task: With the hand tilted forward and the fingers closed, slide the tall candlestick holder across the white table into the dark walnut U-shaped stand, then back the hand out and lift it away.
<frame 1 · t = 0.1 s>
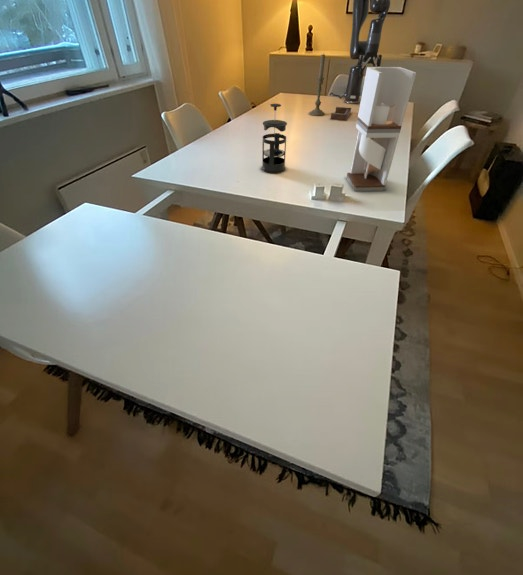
hand: (366, 75, 196), 17 cm above the table, tool pointing down, fingers open, 8 cm apart
candlestick holder: (316, 114, 193), on the table
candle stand: (334, 115, 190), on the table
display case: (364, 184, 117), on the table
french press: (273, 168, 128), on the table
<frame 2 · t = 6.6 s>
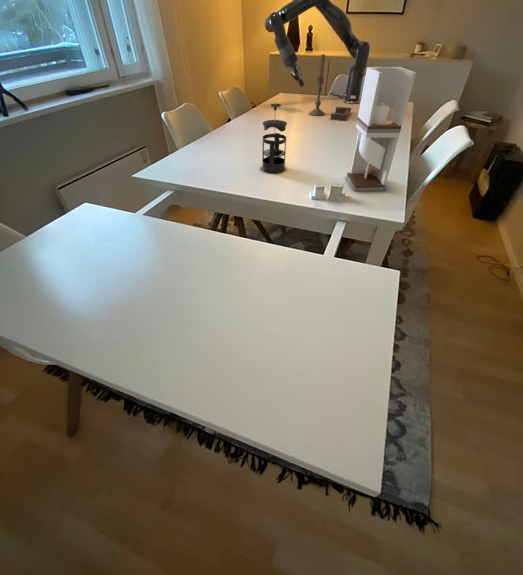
hand: (302, 86, 186), 14 cm above the table, tool tilted 35°, fingers closed
nothing on the table moved.
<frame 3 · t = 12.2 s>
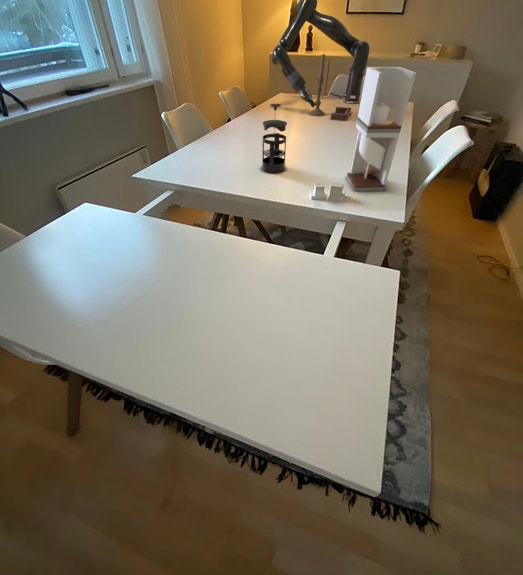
hand: (314, 106, 191), 4 cm above the table, tool tilted 45°, fingers closed
candlestick holder: (316, 114, 193), on the table, touching gripper
everything else where it was.
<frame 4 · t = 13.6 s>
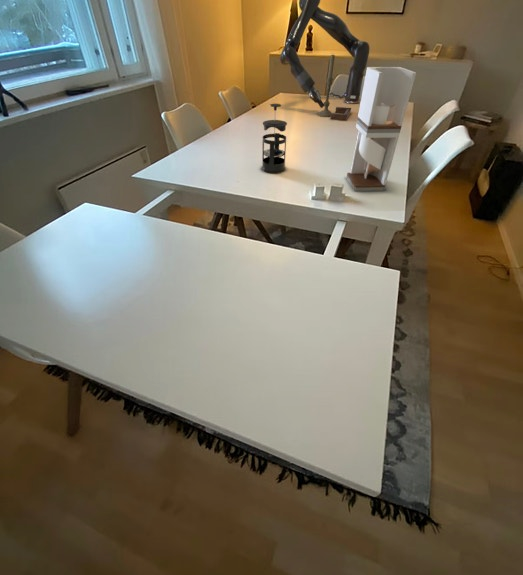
hand: (323, 106, 190), 4 cm above the table, tool tilted 45°, fingers closed
candlestick holder: (325, 115, 192), on the table, touching gripper
everything else where it was.
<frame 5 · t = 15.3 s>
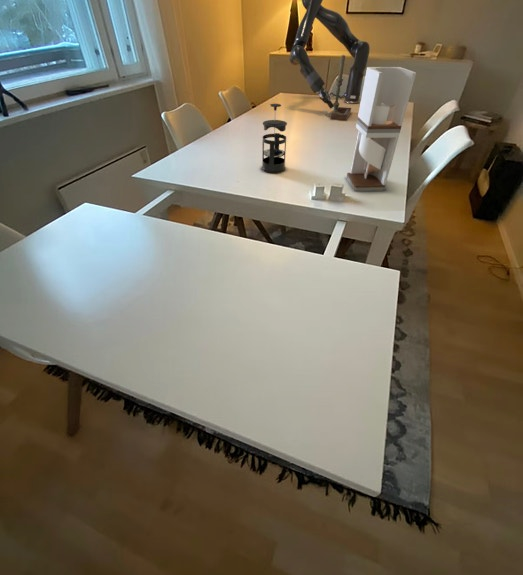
hand: (332, 107, 188), 4 cm above the table, tool tilted 45°, fingers closed
candlestick holder: (334, 116, 190), on the table, touching gripper
everything else where it was.
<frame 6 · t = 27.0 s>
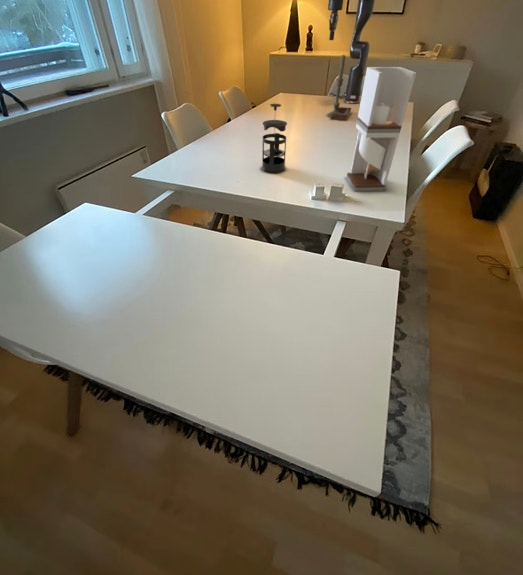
hand: (331, 40, 177), 35 cm above the table, tool pointing down, fingers closed
candlestick holder: (334, 116, 190), on the table
everything else where it was.
at the end: candlestick holder 0.5 cm from the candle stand (horizontally); candlestick holder moved 11.1 cm from its start; candlestick holder tilted 0° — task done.
